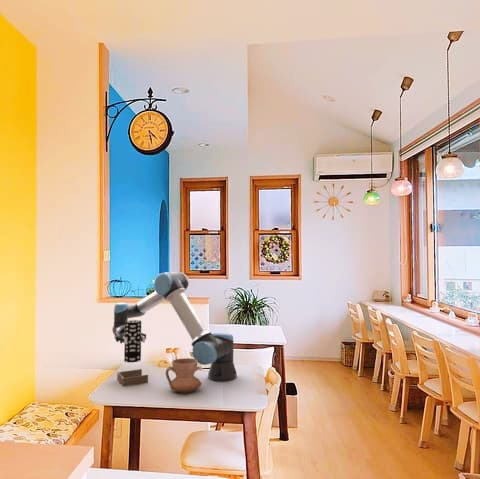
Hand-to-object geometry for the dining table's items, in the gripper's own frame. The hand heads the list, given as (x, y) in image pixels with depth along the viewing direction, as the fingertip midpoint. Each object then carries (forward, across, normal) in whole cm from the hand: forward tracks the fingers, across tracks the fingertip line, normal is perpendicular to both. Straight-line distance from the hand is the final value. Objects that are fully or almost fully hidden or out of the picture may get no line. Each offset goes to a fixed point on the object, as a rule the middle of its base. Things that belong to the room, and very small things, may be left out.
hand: (135, 340), depth 205 cm
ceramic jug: (+21, -18, -22) cm, 36 cm away
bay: (-5, 0, -22) cm, 22 cm away
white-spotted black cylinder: (-5, 0, -11) cm, 12 cm away
